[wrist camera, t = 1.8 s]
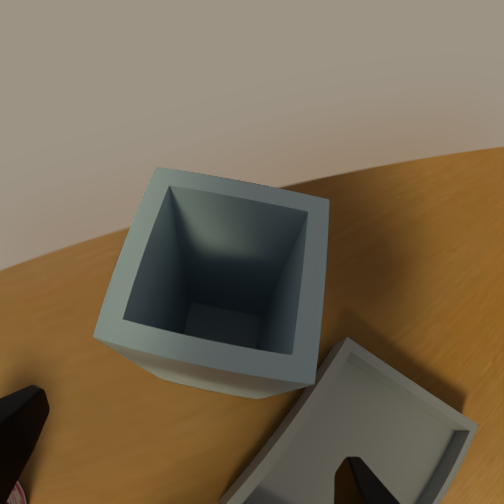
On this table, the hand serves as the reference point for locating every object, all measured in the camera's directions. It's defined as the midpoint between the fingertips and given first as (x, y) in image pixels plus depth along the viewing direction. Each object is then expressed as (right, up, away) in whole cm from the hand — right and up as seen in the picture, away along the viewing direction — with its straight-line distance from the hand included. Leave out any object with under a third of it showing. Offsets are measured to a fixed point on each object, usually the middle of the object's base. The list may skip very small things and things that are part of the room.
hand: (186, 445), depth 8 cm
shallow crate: (+9, -9, +9) cm, 16 cm away
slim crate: (0, -1, +13) cm, 13 cm away
